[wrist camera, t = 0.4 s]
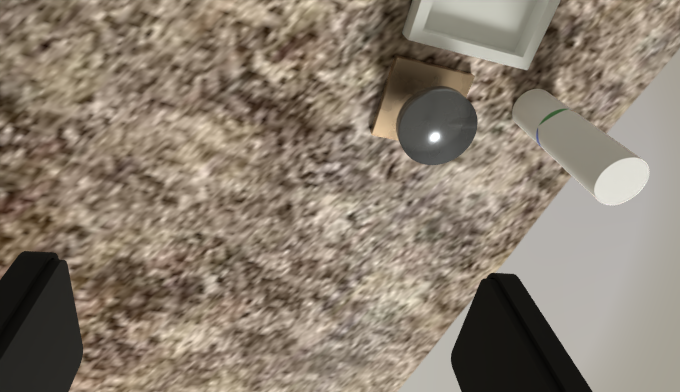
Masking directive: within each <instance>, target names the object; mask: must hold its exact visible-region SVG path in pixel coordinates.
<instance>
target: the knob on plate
mask: <svg viewBox="0 0 680 392" xmlns="http://www.w3.org/2000/svg"><path fill="white" fill-rule="evenodd" d="M474 77H475V76H474V75H473V74H471V73H468V72H464V71H460V70H456V69H452V68H448V67H444V66H440V65H436V64H432V63H428V62H424V61H420V60H415V59H411V58H407V57H403V56H399V55H395V56H394V59H393V62H392V65H391V68H390V71H389V75H388V78H387V81H386V84H385V87H384V90H383V93H382V96H381V99H380V103H379V106H378V109H377V112H376V115H375V118H374V121H373V124H372V127H371V134H372V135H374V136H379V137H384V138H389V139H394V140H399V142H400V144H401V146H402V148H403V150H404V151H405V153H406V154H407V155H408V156H409V157H410V158H411V159H413V160H415V161H416V162H419V163H422V164H426V165H438V164H443V163H446V162H449V161H451V160H453V159H455V158H457V157H458V156H459V155H461V154H462V153H463V152H464V151H465V150H466V149H467V148H468V147H469V145H470V144H471V142H472V141H473V139H474V136H475V134H476V130H477V115H476V112H475V109H474V107H473V106H472V104H471V103H470V102H469V101H468V100H467V99H466V96H467V94H468V91H469V89H470V87H471V84H472V82H473V79H474Z"/></svg>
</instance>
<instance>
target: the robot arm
mask: <svg viewBox="0 0 680 392" xmlns="http://www.w3.org/2000/svg"><path fill="white" fill-rule="evenodd" d="M82 355H83V344H82V339H81V334H80V328H79V323H78V318H77V312H76V307H75V302H74V297H73V291H72V286H71V281H70V275H69V270H68V265H67V262H66V261H65V260H59V258H58V256H57V254H56V253H52V252H31V251H24V252H22V253H21V254H20V255H19V256H18V257H17V258H16V259H15V261H14V262H13V264H12V265H11V266H10V268H9V269H8V270H7V272H6V273H5V274H4V276H3V277H2V278H1V280H0V392H68V391H69V389H70V387H71V384H72V382H73V380H74V378H75V375H76V373H77V371H78V368H79V366H80V363H81V360H82ZM451 363H452V367H453V370H454V373H455V375H456V378H457V381H458V383H459V386H460V389H461V391H462V392H592V390H591V389H590V387H589V386H588V384H587V383H586V381H585V379H584V378H583V377H582V375H581V373H580V372H579V370H578V369H577V367H576V366H575V364H574V363H573V361H572V359H571V358H570V356H569V355H568V353H567V352H566V350H565V349H564V347H563V345H562V344H561V342H560V341H559V339H558V338H557V336H556V335H555V333H554V332H553V330H552V329H551V327H550V325H549V324H548V322H547V321H546V319H545V318H544V316H543V315H542V313H541V312H540V310H539V308H538V307H537V305H536V304H535V302H534V301H533V299H532V298H531V296H530V295H529V293H528V291H527V290H526V288H525V287H524V285H523V284H522V282H521V281H520V279H519V278H518V277H517V276H516V275H514V274H503V273H491V274H489V275H488V277H487V279H483V280H481V282H480V284H479V287H478V289H477V292H476V294H475V297H474V299H473V301H472V304H471V307H470V309H469V311H468V314H467V316H466V319H465V321H464V323H463V326H462V328H461V331H460V334H459V336H458V338H457V340H456V343H455V346H454V348H453V350H452V354H451Z"/></svg>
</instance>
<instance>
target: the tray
mask: <svg viewBox="0 0 680 392" xmlns="http://www.w3.org/2000/svg"><path fill="white" fill-rule="evenodd" d="M560 1H561V0H412V3H411V6H410V9H409V12H408V15H407V19H406V22H405V25H404V28H403V31H402V34H403V35H404V36H405V37H406V38H407V39H408V40H410V41H414V42H418V43H422V44H426V45H430V46H434V47H438V48H441V49H445V50H449V51H453V52H457V53H461V54H465V55H469V56H473V57H477V58H481V59H484V60H488V61H492V62H496V63H500V64H504V65H508V66H512V67H516V68H520V69H524V70H528V68H529V66H530V64H531V62H532V60H533V57H534V55H535V53H536V51H537V49H538V47H539V45H540V43H541V41H542V39H543V36H544V34H545V32H546V30H547V28H548V26H549V24H550V22H551V20H552V17H553V15H554V13H555V11H556V9H557V7H558V5H559V3H560Z"/></svg>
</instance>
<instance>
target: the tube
mask: <svg viewBox="0 0 680 392" xmlns="http://www.w3.org/2000/svg"><path fill="white" fill-rule="evenodd" d="M512 117H513V120H514V121H515V123H516V124H517V125H518V126H519V127H520V128H521V129H523V130H524V131H525V132H526V133H527V134H528V135H529V136H530V137H531V138H532V139H533V140H534V141H535V142H536V143H537V144H538V145H539V146H541V147H542V148H543V149H544V150H545V151H546V152H547V153H548V154H549V155H550V156H551V157H552V158H553V159H554V160H555V161H557V162H558V163H559V164H560V165H561V166H562V167H563V168H564V169H565V170H566V171H567V172H568V173H569V174H570V175H571V176H572V177H574V178H575V179H576V180H577V181H578V182H579V183H580V184H581V185H582V186H583V187H584V188H585V189H586V190H587V191H588V192H589V193H591V194H592V195H593V196H594V197H595V198H596V199H597V200H598V201H599V202H601V203H602V204H605V205H617V204H621V203H624V202H626V201H628V200H630V199H632V198H633V197H634V196H636V195H637V194H638V193H639V192H640V191H641V190H642V189H643V188H644V186H645V184H646V183H647V180H648V178H649V167H648V165H647V163H646V162H645V161H644V160H642V159H641V158H639V157H638V156H637V155H635V154H634V153H632V152H631V151H630V150H628V149H627V148H625V147H624V146H623V145H621V144H620V143H618V142H617V141H615V140H614V139H613V138H611V137H610V136H608V135H607V134H606V133H604V132H603V131H602V130H600V129H599V128H597V127H596V126H595V125H593V124H592V123H590V122H589V121H588V120H586V119H585V118H583V117H582V116H581V115H579V114H578V113H576V112H575V111H574V110H572V109H571V108H569V107H568V106H567V105H565V104H564V103H562V102H561V101H560V100H558V99H557V98H555V97H554V96H553V95H551V94H550V93H548V92H547V91H545V90H543V89H532V90H529V91H527V92H525V93H524V94H522V95H521V96H520V97H519V98H518V99H517V101H516V102H515V104H514V106H513V110H512Z"/></svg>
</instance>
